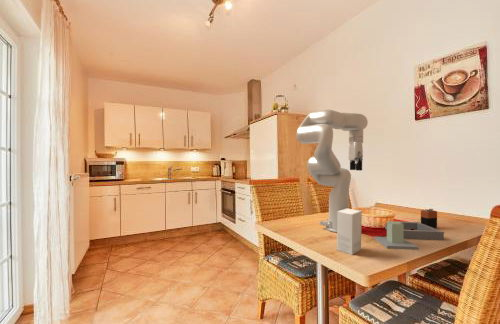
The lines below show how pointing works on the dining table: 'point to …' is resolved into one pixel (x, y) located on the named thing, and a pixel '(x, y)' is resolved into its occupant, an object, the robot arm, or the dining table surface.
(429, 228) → the grey square frame
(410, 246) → the mat
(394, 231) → the green box
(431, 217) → the battery
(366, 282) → the dining table surface
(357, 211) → the skincare box
